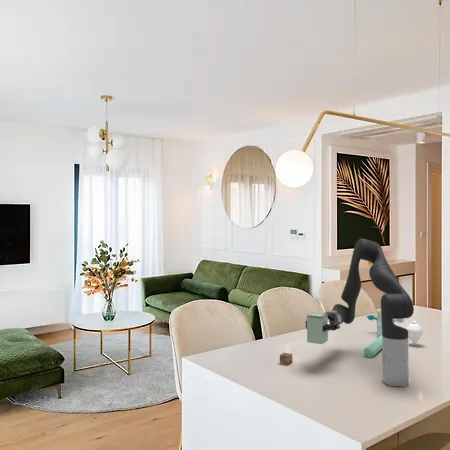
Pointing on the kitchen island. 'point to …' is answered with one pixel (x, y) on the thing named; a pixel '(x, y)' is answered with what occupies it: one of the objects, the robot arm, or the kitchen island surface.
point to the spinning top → (414, 332)
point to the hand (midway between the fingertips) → (315, 327)
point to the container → (373, 347)
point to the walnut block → (286, 359)
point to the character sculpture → (379, 320)
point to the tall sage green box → (317, 328)
